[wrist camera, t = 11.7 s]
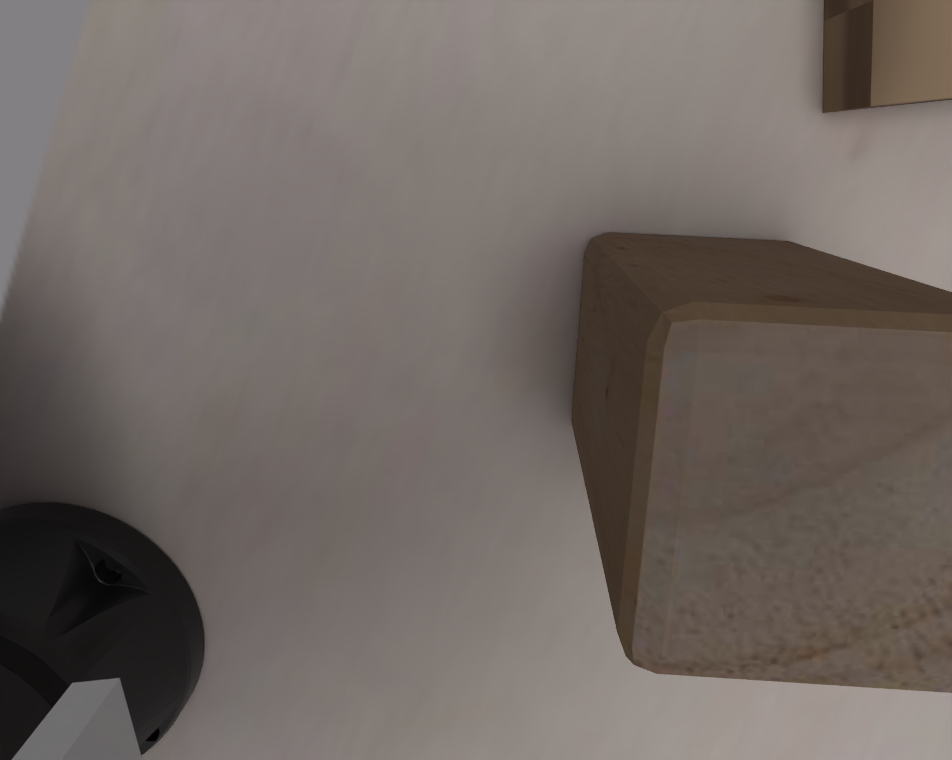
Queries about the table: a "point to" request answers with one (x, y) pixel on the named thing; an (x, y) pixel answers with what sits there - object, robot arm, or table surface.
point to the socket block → (886, 53)
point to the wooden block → (768, 460)
